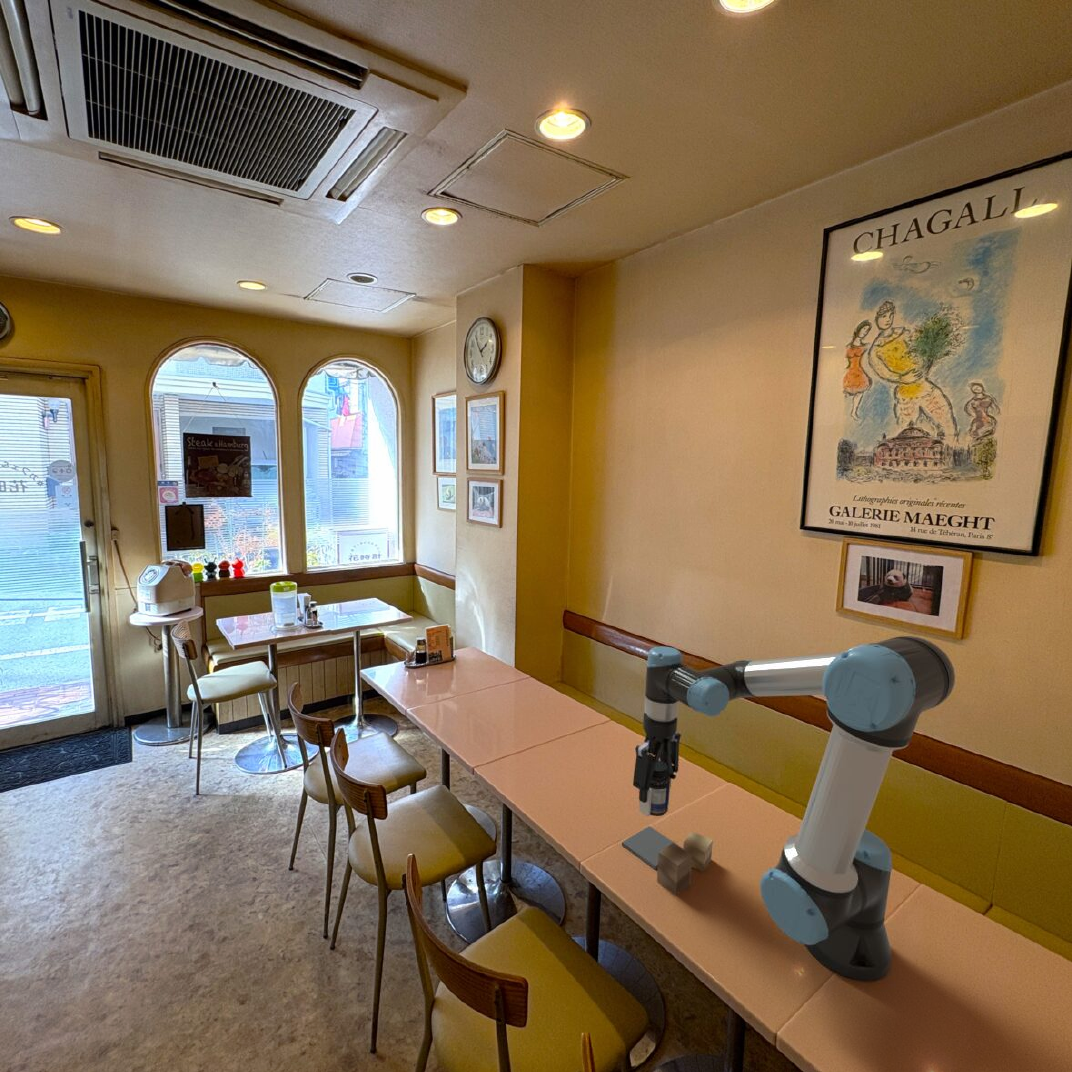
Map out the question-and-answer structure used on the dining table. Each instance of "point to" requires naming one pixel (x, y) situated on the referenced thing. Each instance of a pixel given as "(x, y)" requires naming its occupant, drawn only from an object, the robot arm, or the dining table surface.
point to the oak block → (699, 850)
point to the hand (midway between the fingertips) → (654, 807)
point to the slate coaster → (647, 845)
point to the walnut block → (674, 868)
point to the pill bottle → (660, 789)
